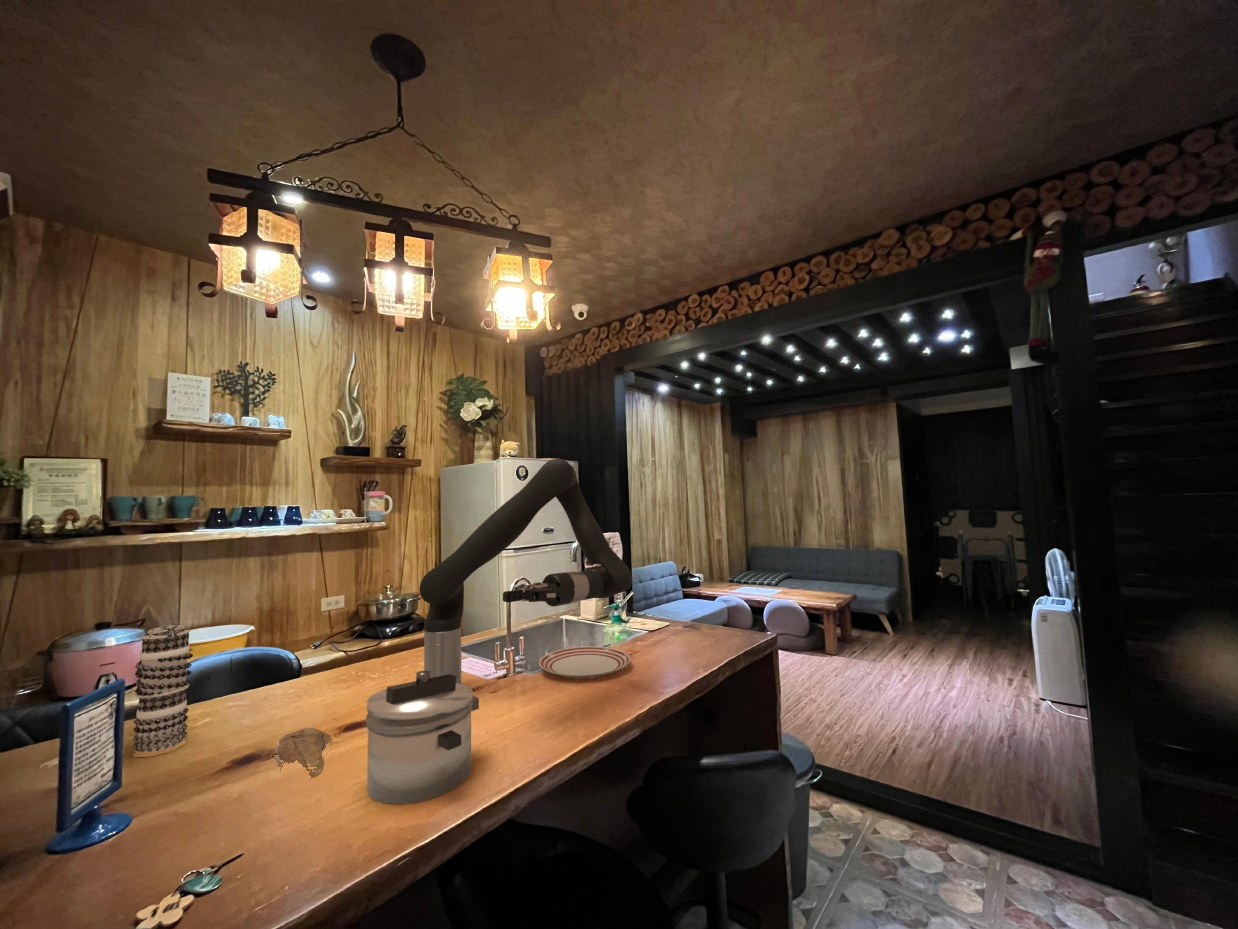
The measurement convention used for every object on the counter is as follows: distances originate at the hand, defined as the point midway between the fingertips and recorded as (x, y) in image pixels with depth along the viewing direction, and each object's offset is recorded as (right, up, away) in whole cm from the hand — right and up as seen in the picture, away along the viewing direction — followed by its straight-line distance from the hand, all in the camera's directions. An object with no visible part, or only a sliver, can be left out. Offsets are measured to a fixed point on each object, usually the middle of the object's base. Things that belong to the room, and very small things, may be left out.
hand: (504, 597), depth 108 cm
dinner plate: (+15, -33, +42) cm, 55 cm away
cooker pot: (-11, -28, -18) cm, 35 cm away
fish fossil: (-39, -30, -8) cm, 50 cm away
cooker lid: (-11, -15, -16) cm, 25 cm away
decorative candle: (-72, -31, -2) cm, 79 cm away
